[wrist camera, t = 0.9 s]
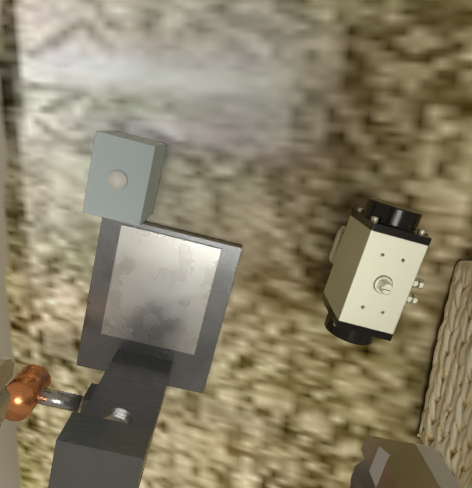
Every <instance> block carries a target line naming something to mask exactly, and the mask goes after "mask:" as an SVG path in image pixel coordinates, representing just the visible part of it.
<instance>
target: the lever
mask: <svg viewBox="0 0 472 488" xmlns="http://www.w3.org/2000/svg"><path fill="white" fill-rule="evenodd" d="M50 384H51V377H50V375H49V373H48V372H47V370H45V369H44V368H43V367H41V366H38V365H28V366H26V367H24V368H23V369H22V370H21V371H20V372H19V373H18V374H17V375H16V376H15V377H14V379H13V380H12V381H11V382H10V383H9V384H8V385H7V386H6V388H7V389H8V391H9V393H10V402H9V407H8V410H7V414H6V416H5V419H8V420H11V421H20V420H23V419H25V418H26V417H27V416H28V415H29V414H30V413H31V411H32V410H33V409H34V407H35V406H36V404H42V405H47V406H51V407H56V408H60V409H65V410H69V411H74V412H79V410H80V408H81V405H82V400H83V396H81V395H76V394H72V393H67V392H63V391H58V390H54V389H49V387H50Z"/></svg>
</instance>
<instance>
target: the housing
mask: <svg viewBox="0 0 472 488" xmlns="http://www.w3.org/2000/svg"><path fill="white" fill-rule="evenodd" d="M166 147H167V144H165V143H161V142H157V141H153V140H149V139H145V138H142V137H138V136H134V135H130V134H126V133H122V132H118V131H96V133H95V139H94V146H93V152H92V158H91V164H90V170H89V176H88V182H87V189H86V195H85V201H84V207H83V212H84V213H88V214H92V215H96V216H100V217H104V218H108V219H112V220H116V221H120V222H124V223H128V224H132V225H137V226H140V225H141V224H142V223H143V222H144V221H145V220H146V219H147V218H148V217H149V216H150V215H151V214H153V209H154V205H155V200H156V195H157V190H158V185H159V180H160V176H161V171H162V166H163V161H164V156H165V151H166Z"/></svg>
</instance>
